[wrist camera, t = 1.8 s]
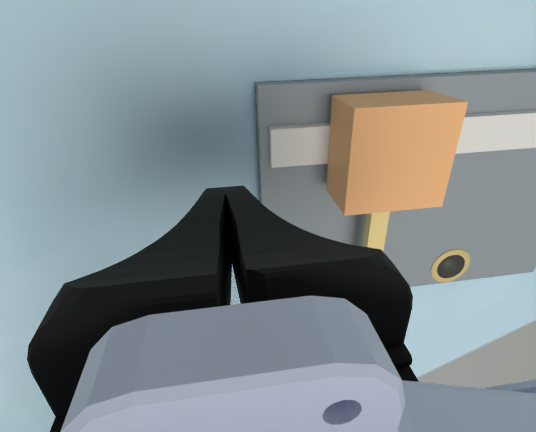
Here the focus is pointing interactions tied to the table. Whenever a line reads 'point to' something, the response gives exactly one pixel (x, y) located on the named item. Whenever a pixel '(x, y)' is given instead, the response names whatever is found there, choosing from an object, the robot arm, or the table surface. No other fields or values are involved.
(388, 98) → the leg
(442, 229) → the plate
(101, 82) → the table surface
